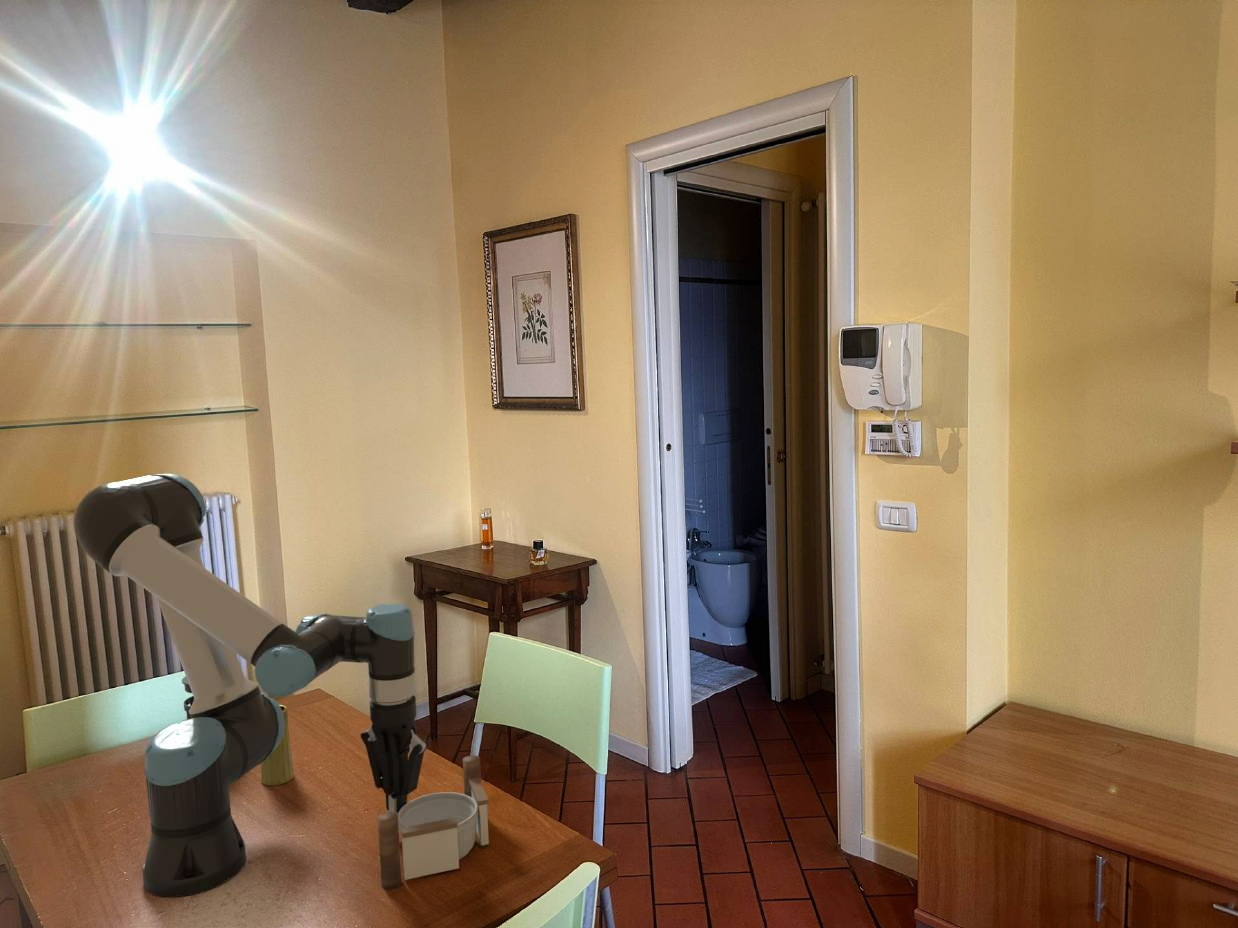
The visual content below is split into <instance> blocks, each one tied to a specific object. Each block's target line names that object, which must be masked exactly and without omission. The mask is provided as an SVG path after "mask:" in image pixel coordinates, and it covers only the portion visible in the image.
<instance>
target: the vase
mask: <svg viewBox="0 0 1238 928" xmlns="http://www.w3.org/2000/svg"><path fill="white" fill-rule="evenodd" d="M279 706H280V708H281V710H282V712H283V715H284V721H285V729H284V735H283V738H282V740H281V742H280V744H279V746H278V747H277V748H276V749H275V750H274V751H273V752H272V753H271V755H270V756H269V757H268V758H267V759H266V760H265V761H264V762H262V763H261V764H260V771H261V772H260V773H261V778H260V782H261V784H263V785H265V786H270V787H273V786H279V785H283V784H286V783H288V782H290V781H291V780H293V778H294V777H295V773H294V766H293V758H292V757H293V756H292V750H291V744H290V743H291V742H290V732H289V731H290V730H289V717H288V708H287V706H286V705H284V704H279Z"/></svg>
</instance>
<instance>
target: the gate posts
mask: <svg viewBox="0 0 1238 928" xmlns="http://www.w3.org/2000/svg"><path fill="white" fill-rule="evenodd" d="M462 769H463V770H462V771H463V773H462V774H463V791H464V793H463V794H465V795H467V796H470V797H471V787H470V785H469V779H474V778H480V781H481V782H482V779H481V778H482V775H481V774H482V771H481V757H480V756H478V755H476V754H475V755H474V754H473V755H471V754H470V755H468V756H464V757H463V758H462ZM471 798H472V797H471ZM377 827H378V828H377V829H378V845H379V846H378V847H379V849H378V850H379V863H380V879H381V880H380V881H381V882H380V883H381V888H383V889H385V890H392V889H396V888H398V887H399V886H401V884H402V870H401V853H400V852H401V851H400V849H401V848H400V833H399V831H400V830H398V815H397V814H396V813H394V812H389V811H388V812H384V813H381V814H380V815H378V816H377Z"/></svg>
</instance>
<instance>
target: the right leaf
mask: <svg viewBox="0 0 1238 928" xmlns="http://www.w3.org/2000/svg"><path fill="white" fill-rule="evenodd" d="M469 785H470V787H471V797H472V798H473V799H474V800H475V801H476V803H477V805H478V817H477V823H476V834H477V837H478V840H479V842H480V845H481V846H487V845H489V843H490V841H489V839H490V838H489V822H488V821H489V819H488V818H489V817H488V805H489V804H490V803H489V797H488V796H487V793H486V790H485V789H484V788H485V787H484V786H483V783H482V780H481V781H480V778H474V779H469Z"/></svg>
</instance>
